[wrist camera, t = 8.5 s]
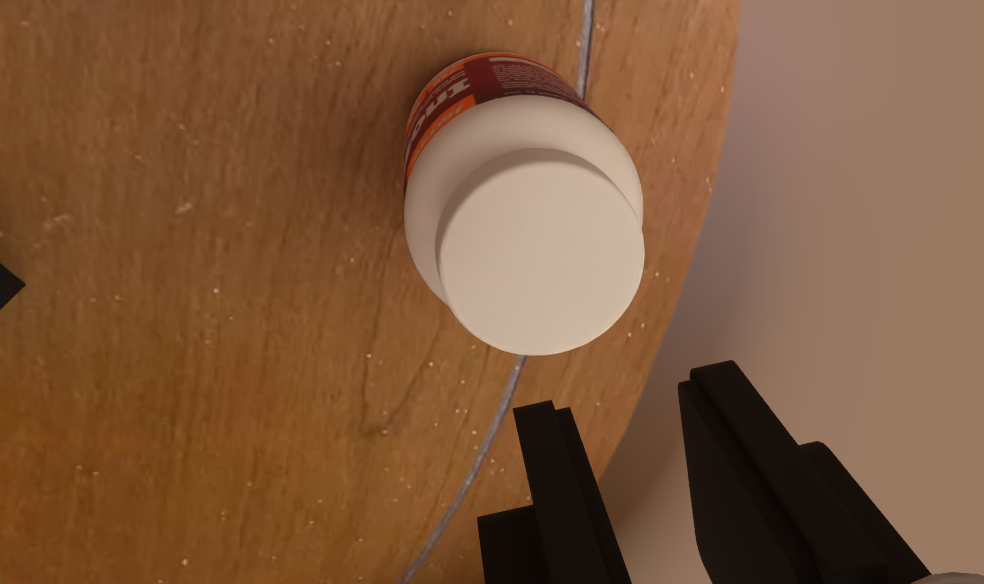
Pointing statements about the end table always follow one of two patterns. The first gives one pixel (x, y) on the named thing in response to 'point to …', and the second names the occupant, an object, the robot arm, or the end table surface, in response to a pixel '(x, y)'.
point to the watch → (8, 286)
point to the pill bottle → (521, 205)
